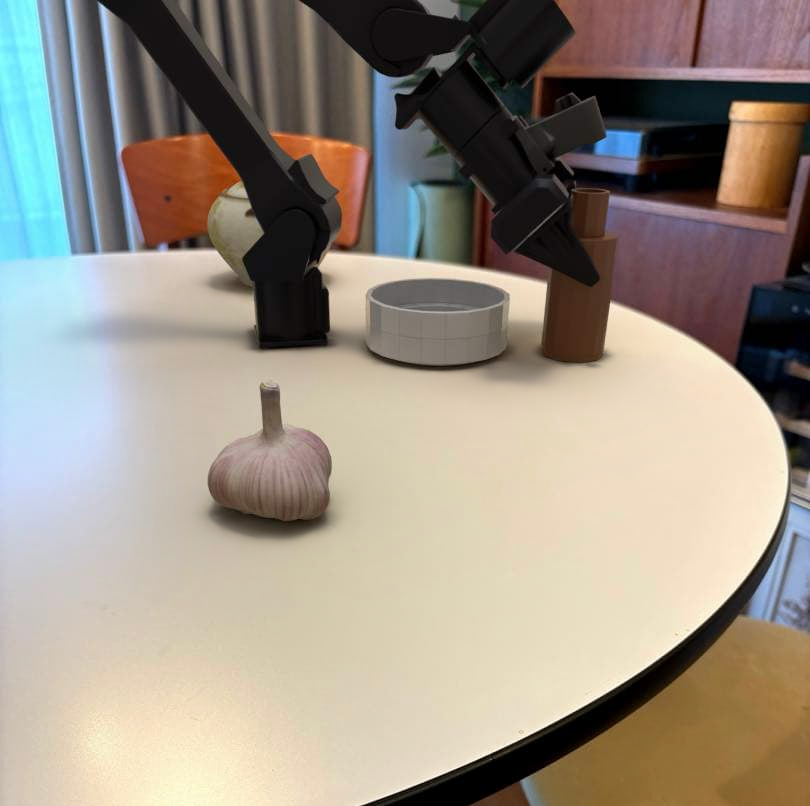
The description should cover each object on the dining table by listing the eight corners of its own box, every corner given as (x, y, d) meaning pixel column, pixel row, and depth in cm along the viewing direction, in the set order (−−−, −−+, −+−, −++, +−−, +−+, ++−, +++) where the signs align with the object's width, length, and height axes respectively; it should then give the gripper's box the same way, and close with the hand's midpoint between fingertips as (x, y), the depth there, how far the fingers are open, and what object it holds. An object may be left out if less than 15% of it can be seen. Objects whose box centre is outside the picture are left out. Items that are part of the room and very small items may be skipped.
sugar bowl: (345, 299, 93) (341, 153, 85) (209, 303, 91) (193, 154, 83) (331, 263, 110) (326, 138, 102) (216, 265, 108) (203, 138, 100)
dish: (382, 374, 71) (382, 316, 68) (355, 332, 82) (354, 281, 79) (525, 365, 73) (530, 308, 71) (480, 325, 84) (483, 275, 82)
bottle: (588, 366, 73) (610, 197, 66) (530, 354, 76) (545, 191, 69) (612, 351, 77) (634, 190, 70) (556, 340, 80) (572, 184, 73)
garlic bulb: (347, 529, 47) (344, 396, 43) (217, 546, 45) (201, 409, 41) (321, 474, 54) (315, 353, 50) (206, 487, 52) (191, 363, 48)
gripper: (548, 53, 58) (684, 228, 61) (559, 56, 73) (666, 194, 77) (434, 172, 63) (564, 326, 66) (467, 151, 79) (571, 276, 82)
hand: (596, 275), depth 73 cm, fingers closed on bottle, 6 cm apart
